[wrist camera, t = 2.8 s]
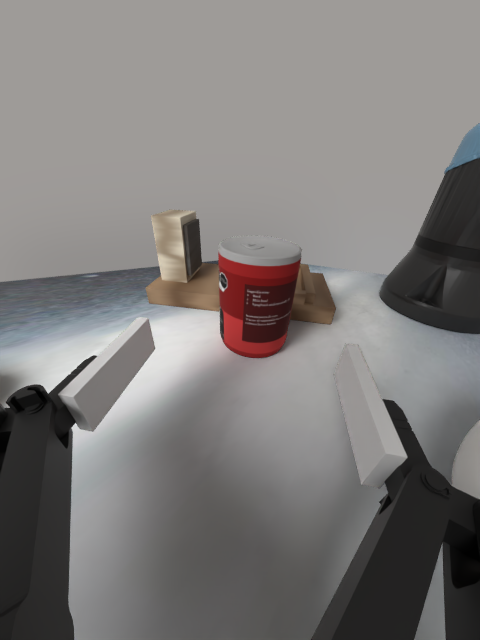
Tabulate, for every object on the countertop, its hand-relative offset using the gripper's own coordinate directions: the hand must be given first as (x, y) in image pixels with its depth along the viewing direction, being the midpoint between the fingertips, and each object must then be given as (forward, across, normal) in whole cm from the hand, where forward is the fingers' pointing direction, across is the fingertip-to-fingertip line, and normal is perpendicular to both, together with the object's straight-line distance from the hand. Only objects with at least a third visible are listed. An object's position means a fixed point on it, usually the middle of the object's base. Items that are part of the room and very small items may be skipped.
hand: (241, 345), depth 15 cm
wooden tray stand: (+21, -3, -7) cm, 22 cm away
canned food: (+10, 0, -7) cm, 12 cm away
